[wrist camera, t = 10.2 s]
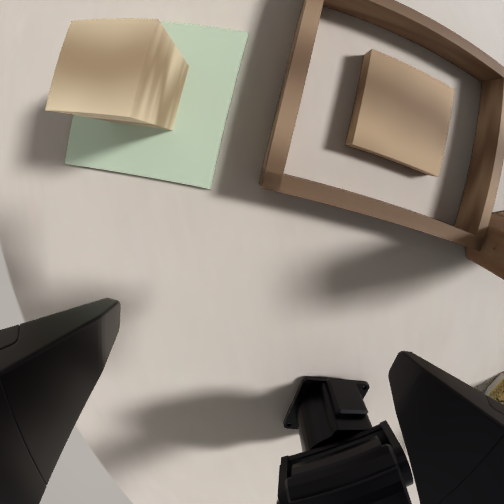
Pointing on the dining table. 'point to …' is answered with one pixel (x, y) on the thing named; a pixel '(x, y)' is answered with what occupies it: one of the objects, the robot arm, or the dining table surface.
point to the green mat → (186, 122)
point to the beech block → (119, 73)
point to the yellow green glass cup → (497, 389)
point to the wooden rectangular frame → (398, 118)
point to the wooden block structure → (491, 247)
